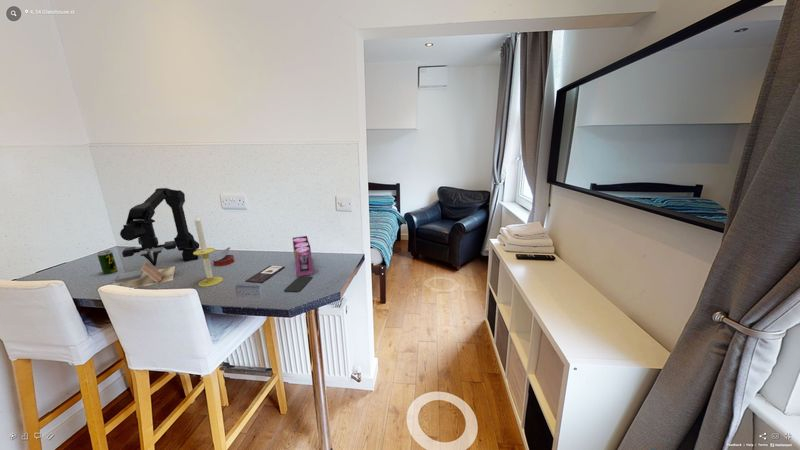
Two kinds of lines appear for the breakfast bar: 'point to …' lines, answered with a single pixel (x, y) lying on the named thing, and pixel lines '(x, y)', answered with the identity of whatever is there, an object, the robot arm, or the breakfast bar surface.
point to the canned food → (223, 258)
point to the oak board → (147, 280)
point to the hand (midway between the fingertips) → (155, 265)
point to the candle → (205, 258)
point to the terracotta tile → (151, 271)
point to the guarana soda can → (107, 262)
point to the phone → (298, 284)
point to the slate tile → (128, 276)
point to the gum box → (302, 256)
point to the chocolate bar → (265, 274)
